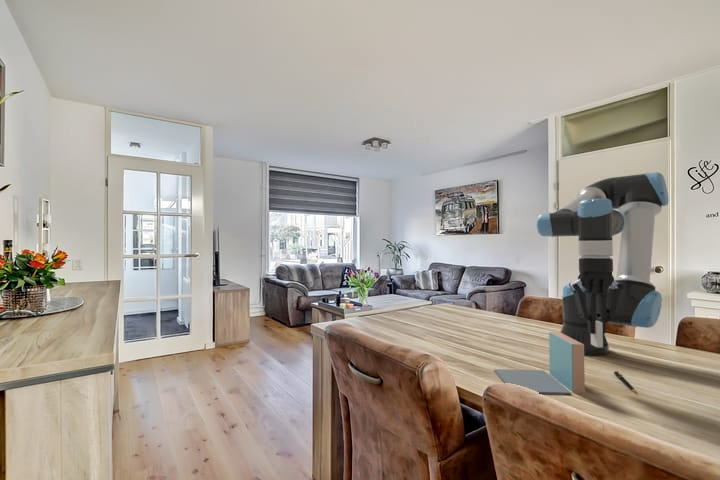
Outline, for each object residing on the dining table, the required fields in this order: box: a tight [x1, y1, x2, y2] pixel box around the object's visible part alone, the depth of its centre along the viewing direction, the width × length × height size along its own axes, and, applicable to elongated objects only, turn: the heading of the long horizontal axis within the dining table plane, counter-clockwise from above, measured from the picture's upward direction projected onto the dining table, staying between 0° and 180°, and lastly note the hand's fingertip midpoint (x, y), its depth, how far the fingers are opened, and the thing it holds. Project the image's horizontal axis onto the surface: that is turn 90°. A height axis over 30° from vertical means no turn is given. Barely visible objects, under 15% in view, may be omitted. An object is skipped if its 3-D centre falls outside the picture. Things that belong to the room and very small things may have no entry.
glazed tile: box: [548, 331, 586, 393], centre depth 92 cm, size 3×12×12 cm, turn 175°
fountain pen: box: [613, 370, 636, 393], centre depth 92 cm, size 14×1×2 cm, turn 161°
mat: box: [493, 368, 572, 396], centre depth 93 cm, size 14×15×1 cm
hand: (596, 345), depth 91 cm, fingers closed
